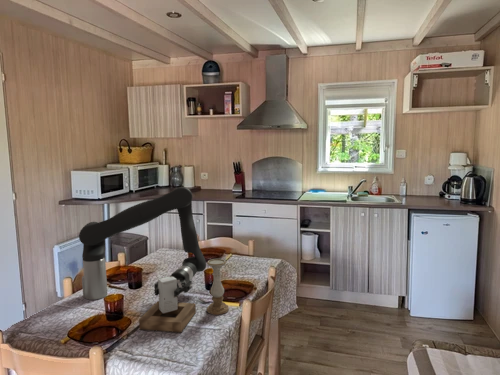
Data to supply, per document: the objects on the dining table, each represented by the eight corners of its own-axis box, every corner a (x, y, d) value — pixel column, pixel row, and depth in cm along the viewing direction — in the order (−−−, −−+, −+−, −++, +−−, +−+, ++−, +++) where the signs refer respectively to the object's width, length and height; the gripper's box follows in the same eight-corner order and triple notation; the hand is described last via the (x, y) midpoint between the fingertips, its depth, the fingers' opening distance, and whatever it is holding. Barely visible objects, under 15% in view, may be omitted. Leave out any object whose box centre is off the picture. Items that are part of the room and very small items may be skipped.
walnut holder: (139, 329, 134) (138, 319, 134) (158, 310, 150) (157, 301, 150) (181, 333, 131) (180, 322, 131) (195, 313, 147) (195, 303, 147)
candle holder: (232, 307, 152) (230, 259, 150) (223, 316, 144) (222, 265, 142) (212, 304, 155) (211, 257, 153) (203, 313, 147) (201, 263, 145)
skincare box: (163, 314, 137) (161, 282, 135) (158, 309, 140) (157, 278, 139) (178, 309, 140) (177, 278, 139) (174, 305, 144) (172, 275, 142)
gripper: (164, 268, 154) (146, 283, 138) (197, 269, 152) (183, 284, 135) (165, 285, 155) (147, 302, 139) (198, 287, 153) (184, 304, 136)
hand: (165, 293), depth 137 cm, fingers closed on skincare box, 7 cm apart
